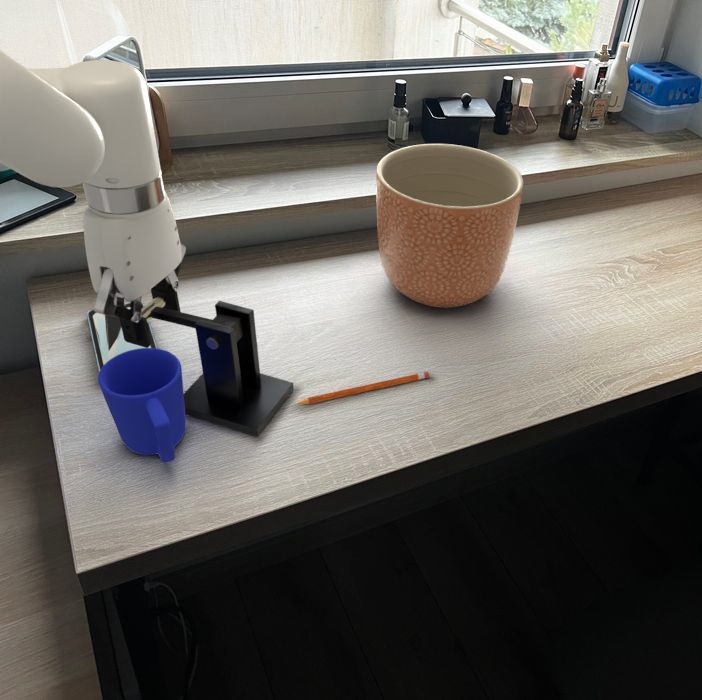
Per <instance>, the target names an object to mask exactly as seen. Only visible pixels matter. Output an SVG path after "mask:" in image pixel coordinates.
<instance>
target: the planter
mask: <svg viewBox="0 0 702 700" xmlns="http://www.w3.org/2000/svg"><path fill="white" fill-rule="evenodd" d="M375 175H376V176H375V200H376V202H375V203H376V205H375V206H376V228H377V241H378V251H379V256H380V257H379V258H380V262H381V266H382V269H383V272H384V274H385V276H386V278H387V280H388V281H389V283H390V284H391V285H392V286H393V287H394V288H395V289H396V290H397V291H398V292H399V293H401V294H402V295H403V296H404V297H406V298H408V299H410V300H412V301H414V302H416V303H419V304H421V305H425V306H429V307H432V308H433V307H434V308H459V307H463V306H466V305H470V304H472V303H474V302H476V301H478V300H480V299H482V298H484V297H485V296H487V295H488V294H489V293H490V292H491V291H493V289H494V288H495V287H496V285H497V284H498V283H499V281H500V280H501V277H502V276H503V273H504V271H505V267H506V265H507V263H508V259H509V255H510V252H511V249H512V244H513V240H514V236H515V232H516V228H517V222H518V218H519V213H520V209H521V204H522V198H523V191H524V183H525V182H524V178H523V176H522V173H521V172H520V171H519V170H518V168H517V167H515V166H514V165H513V164H512V163H511V162H509V161H508V160H506V159H504V158H502V157H501V156H498V155H496V154H493V153H492V152H488V151H486V150H482V149H479V148H474V147H471V146H466V145H465V146H464V145H457V144H450V143H423V144H416V145H409V146H406V147H401V148H399V149H396V150H393V151H391V152H390V153H387V154H386V155H384V156H383V158H381V160H379V162H378V164H377V166H376V173H375Z"/></svg>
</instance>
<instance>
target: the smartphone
mask: <svg viewBox="0 0 702 700" xmlns="http://www.w3.org/2000/svg"><path fill="white" fill-rule="evenodd" d="M144 306H146V304H145V303H144V302H143V301H142V306H141V309H142V308H143V307H144ZM124 307H125V308H128V309H130V302H124ZM86 319H87V324H88V329H89V335H90V339H91V342H92V346H93V352H94V356H95V361H96V366H97V371H98V373H99V372H100V370H101V368H102V367H103V366H104V365H105V364H106V363H107V362H108V361H109V360H110V359H112V358H113V357H115V356H117V355H119V354H121V353H124V352H126V351H130V350H134V349H140V348H146V347H142V346H139V345H135V344H132V343H128V342H126V341H125V340H124V336H123V332H122V328H121V324H120V320H119V318H118V317H115V316H108V315H103V314H100V313H96V312H95V311H94V308H92V309H90V310H88V311H87V312H86ZM147 324H148V329H149V334H150V338H151V345H150V346H149V347H148V348H156V349H159V348H158V343H157V341H156V338H155V335H154V332H153V328H152V325H151V320H150V321H149V322H147Z"/></svg>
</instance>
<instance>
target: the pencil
mask: <svg viewBox="0 0 702 700" xmlns="http://www.w3.org/2000/svg"><path fill="white" fill-rule="evenodd" d="M428 378H430V373H429V372H428V371H424V372H419V373H415V374H411V375H407V376H402V377H397V378H393V379H389V380H388V379H387V380H384V381H379V382H374V383H370V384H365V385H359V386H355V387H351V388H346V389H342V390H337V391H333V392H328V393H324V394H319V395H315V396H310V397H309V396H308V397H306V398H304V399H301V400H299V401H297V402H295V403H294V405H310V404H311V405H312V404H316V403H319V402H324V401H329V400H334V399H338V398H342V397H347V396H350V395H351V396H352V395H356V394H361V393H365V392H371V391H374V390H378V389H383V388H387V387H391V386H396V385H401V384H405V383H409V382H414V381H418V380H419V381H420V380H423V379H428Z"/></svg>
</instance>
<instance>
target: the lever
mask: <svg viewBox="0 0 702 700" xmlns="http://www.w3.org/2000/svg"><path fill="white" fill-rule="evenodd" d="M168 303H169V302H168V299H167V298H166V297H165V296H164V295H158V296H156V297H155V298H154V299H153V298H152V300H150V301H149V302H148V303H147V304H145V306H144V307H143V308H142V309H141V316H142V317H145V318H146V320H147V322H149V321H150V322H151V321H152V319H155V320H160V321H164V322H167V323H171V324H176V325H180V326H183V327H184V326H185V327H189V328H193V329H196V328H195V323H196V322H197V321H199V320H204V321H207V322H211V323H215V324H218V325H222V326H226V327H229V328H233V329H235V334H236V342H237V341H238V340H239V339H240V338H241V337H242V336H243V328H242V322H241V318H237V317H233V316H229V315H224V314H220V313H219V314H218V315H217V316H214V318H207V317H202V316H198V315H195V314H190V313H186V312H182V311H181V312H178V311H174V310H170V309H165V307H166V306H167V305H168Z"/></svg>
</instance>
